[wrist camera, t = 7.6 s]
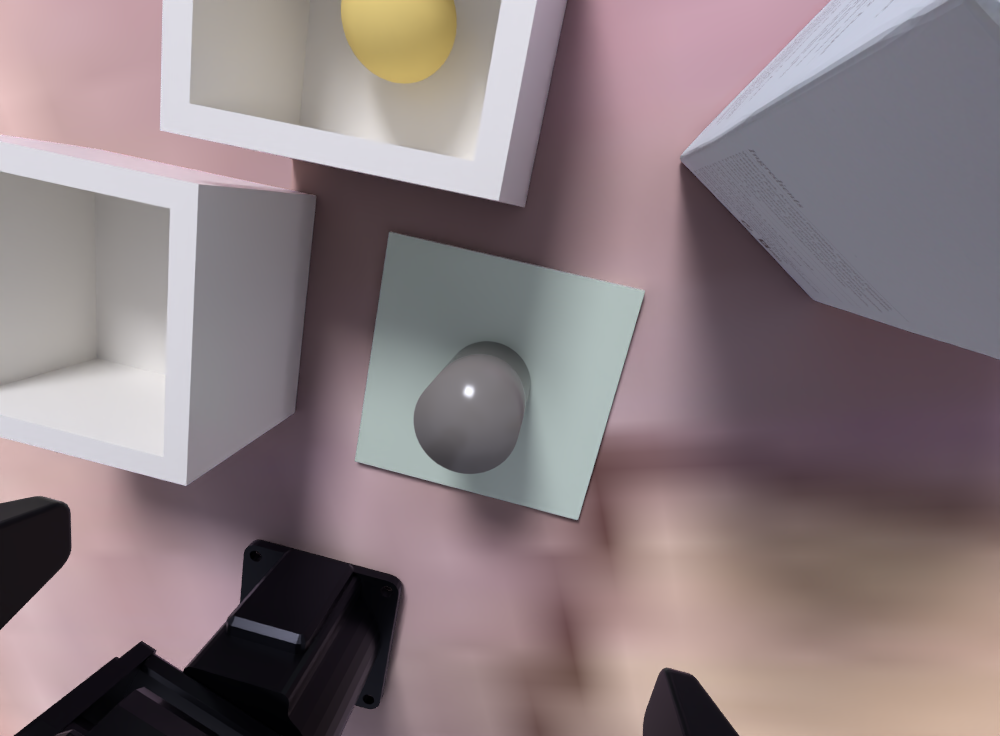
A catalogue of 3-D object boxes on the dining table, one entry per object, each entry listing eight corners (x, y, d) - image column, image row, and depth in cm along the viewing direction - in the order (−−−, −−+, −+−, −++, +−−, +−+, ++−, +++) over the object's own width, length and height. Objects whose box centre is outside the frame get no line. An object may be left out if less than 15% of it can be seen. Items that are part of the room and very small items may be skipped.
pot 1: (295, 412, 21) (185, 486, 15) (102, 364, 21) (-74, 417, 16) (316, 195, 19) (198, 183, 13) (100, 149, 19) (-106, 118, 13)
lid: (642, 288, 18) (663, 312, 14) (577, 509, 21) (577, 591, 16) (396, 231, 19) (339, 236, 14) (362, 452, 21) (304, 516, 17)
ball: (457, 103, 16) (430, 77, 13) (360, 84, 16) (314, 55, 14) (475, -13, 15) (451, -65, 13) (373, -31, 16) (327, -87, 13)
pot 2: (524, 207, 18) (498, 200, 12) (291, 158, 18) (159, 130, 13) (584, -84, 15) (587, -263, 10) (316, -127, 16) (169, -321, 10)
